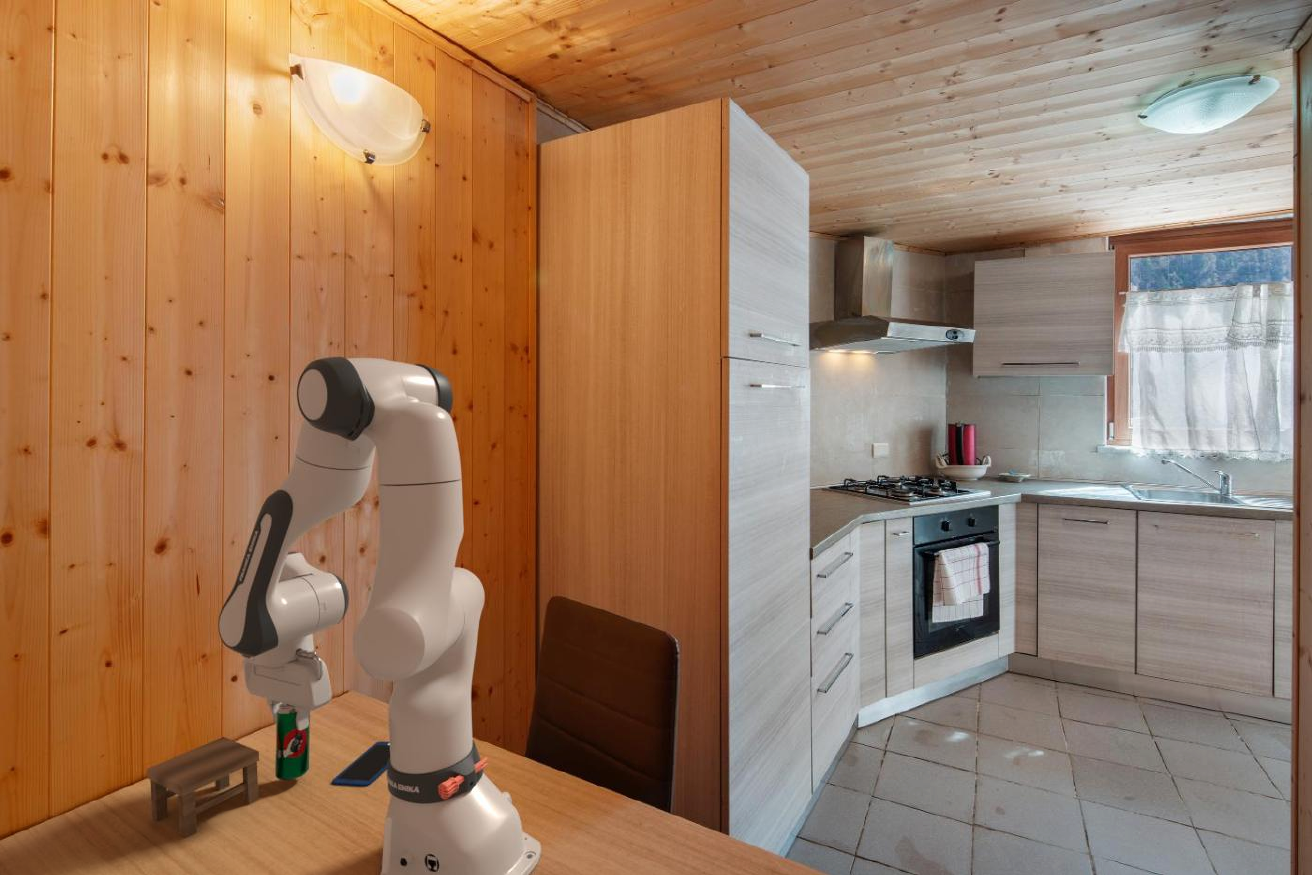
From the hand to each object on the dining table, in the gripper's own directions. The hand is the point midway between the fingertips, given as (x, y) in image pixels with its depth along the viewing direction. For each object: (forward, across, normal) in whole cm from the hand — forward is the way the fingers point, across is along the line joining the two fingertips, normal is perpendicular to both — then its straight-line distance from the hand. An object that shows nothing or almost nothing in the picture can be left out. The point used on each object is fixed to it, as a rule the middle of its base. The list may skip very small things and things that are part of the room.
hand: (291, 725), depth 107 cm
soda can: (+8, 0, +1) cm, 9 cm away
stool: (+9, +5, +11) cm, 16 cm away
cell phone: (+11, -8, -10) cm, 16 cm away
